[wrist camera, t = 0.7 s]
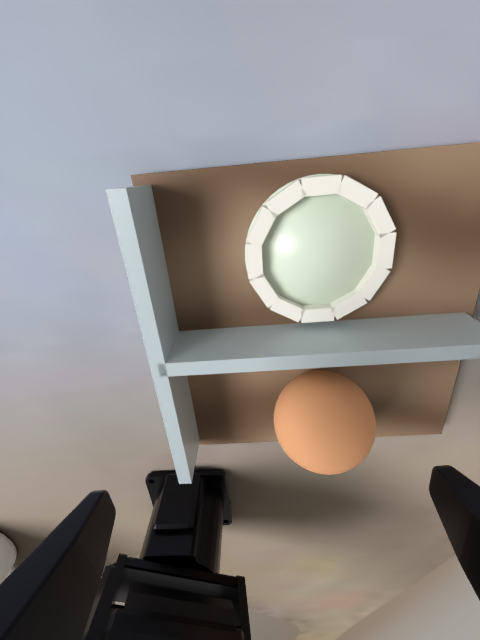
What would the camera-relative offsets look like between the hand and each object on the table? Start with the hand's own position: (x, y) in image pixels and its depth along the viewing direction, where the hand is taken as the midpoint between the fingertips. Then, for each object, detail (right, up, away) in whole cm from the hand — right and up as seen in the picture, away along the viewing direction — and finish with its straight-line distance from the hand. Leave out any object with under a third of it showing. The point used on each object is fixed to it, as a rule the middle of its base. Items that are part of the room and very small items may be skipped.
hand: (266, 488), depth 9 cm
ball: (+4, -1, +9) cm, 10 cm away
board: (+4, +5, +11) cm, 12 cm away
